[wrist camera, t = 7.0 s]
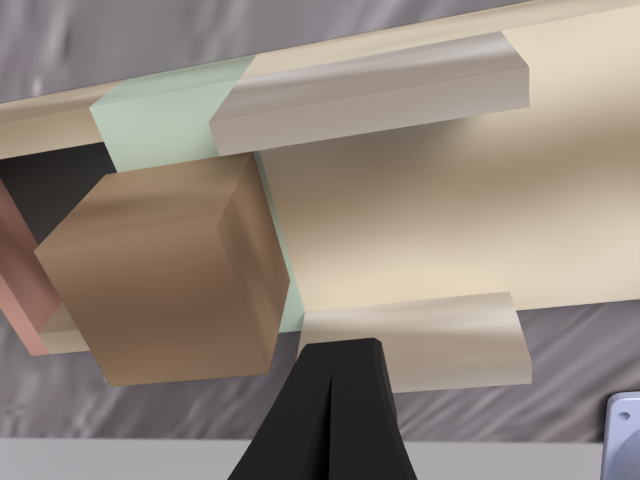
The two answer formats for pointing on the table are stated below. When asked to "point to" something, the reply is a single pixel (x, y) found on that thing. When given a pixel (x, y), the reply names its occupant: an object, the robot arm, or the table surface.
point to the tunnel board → (378, 178)
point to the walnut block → (173, 272)
